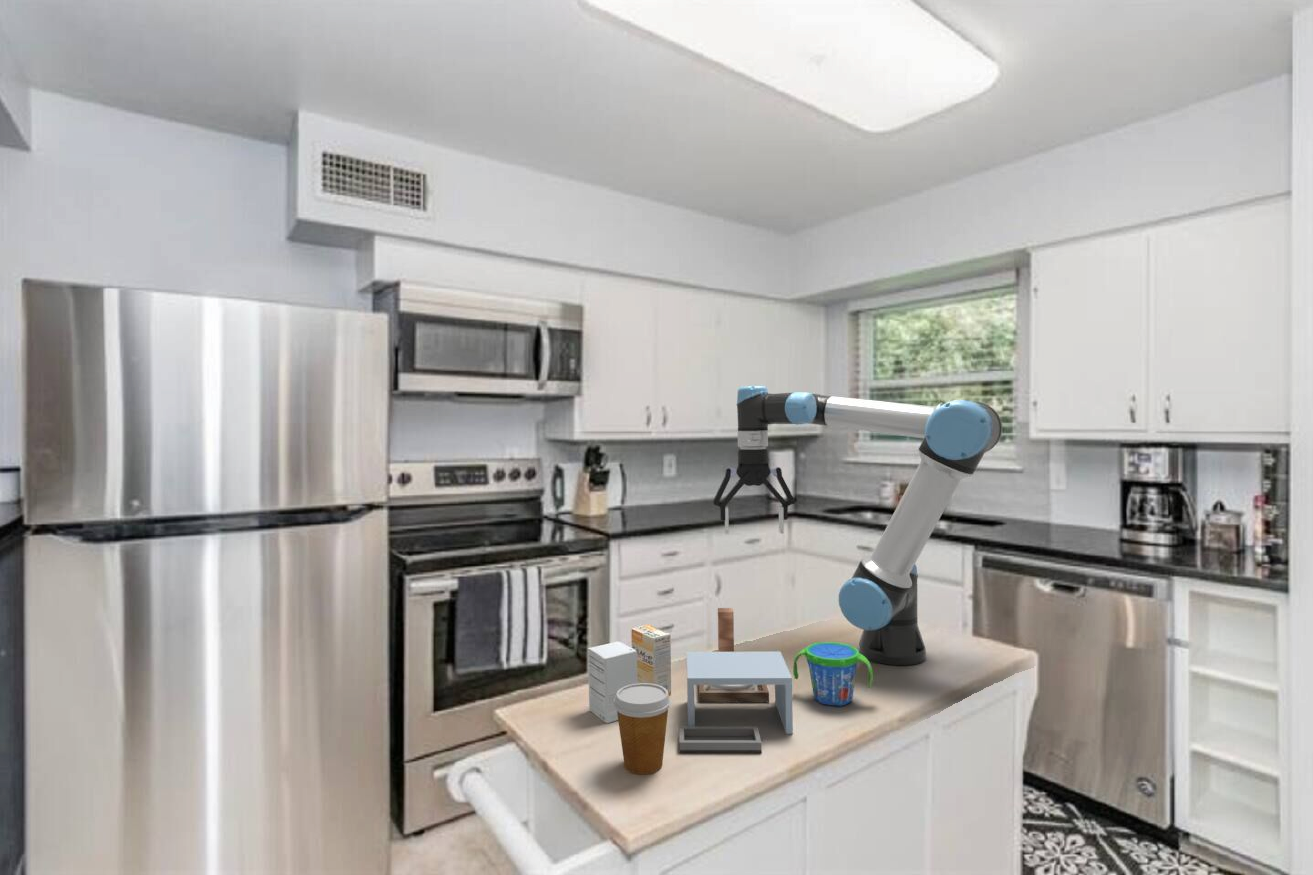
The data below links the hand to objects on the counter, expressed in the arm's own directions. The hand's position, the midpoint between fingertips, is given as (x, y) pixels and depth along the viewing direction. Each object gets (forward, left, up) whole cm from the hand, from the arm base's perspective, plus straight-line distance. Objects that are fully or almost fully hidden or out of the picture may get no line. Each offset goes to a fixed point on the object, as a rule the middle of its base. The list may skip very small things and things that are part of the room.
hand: (754, 533), depth 167 cm
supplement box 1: (+32, +38, -29) cm, 57 cm away
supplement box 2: (+25, +28, -29) cm, 47 cm away
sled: (+8, +20, -29) cm, 36 cm away
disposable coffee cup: (+25, +58, -29) cm, 69 cm away
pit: (+12, +51, -29) cm, 60 cm away
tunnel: (+8, +40, -29) cm, 50 cm away
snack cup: (-12, +32, -29) cm, 45 cm away
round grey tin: (+8, +27, -29) cm, 41 cm away
